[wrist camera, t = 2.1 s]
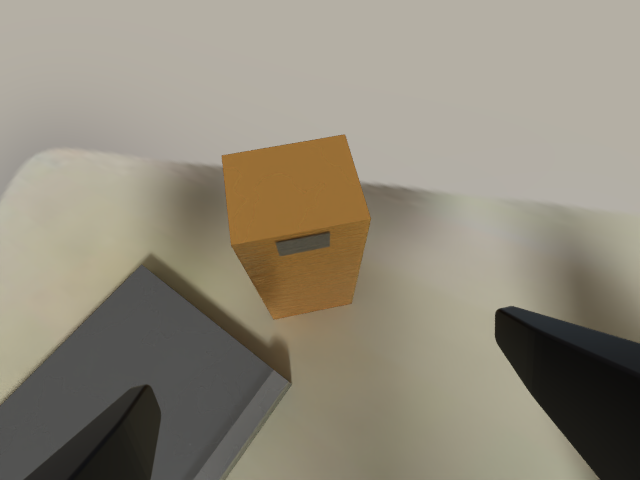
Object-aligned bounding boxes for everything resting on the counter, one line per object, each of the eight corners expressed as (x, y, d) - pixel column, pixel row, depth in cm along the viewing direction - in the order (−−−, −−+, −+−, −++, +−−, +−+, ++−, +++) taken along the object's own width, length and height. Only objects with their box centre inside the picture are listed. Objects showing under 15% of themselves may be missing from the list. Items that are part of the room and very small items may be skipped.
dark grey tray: (79, 687, 15) (46, 724, 14) (-66, 490, 19) (-108, 499, 17) (291, 384, 21) (288, 381, 19) (150, 271, 24) (135, 259, 22)
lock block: (351, 304, 23) (371, 219, 13) (273, 320, 22) (231, 246, 12) (337, 247, 24) (344, 133, 14) (265, 260, 24) (221, 154, 14)
